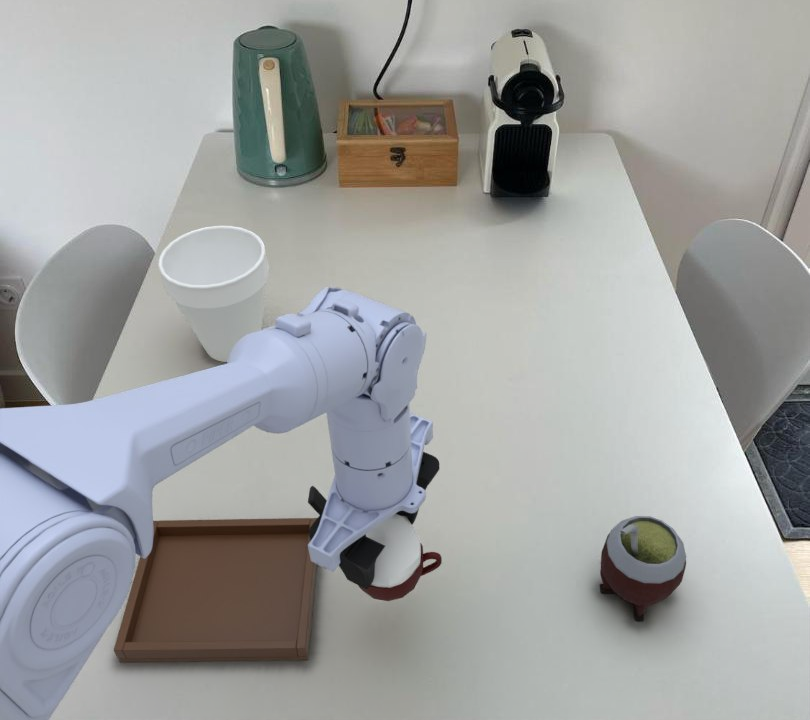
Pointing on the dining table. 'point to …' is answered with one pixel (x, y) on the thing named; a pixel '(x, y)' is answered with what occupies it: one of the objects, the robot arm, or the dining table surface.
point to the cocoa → (392, 555)
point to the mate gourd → (642, 562)
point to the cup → (217, 284)
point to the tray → (221, 593)
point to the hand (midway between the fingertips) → (380, 550)
